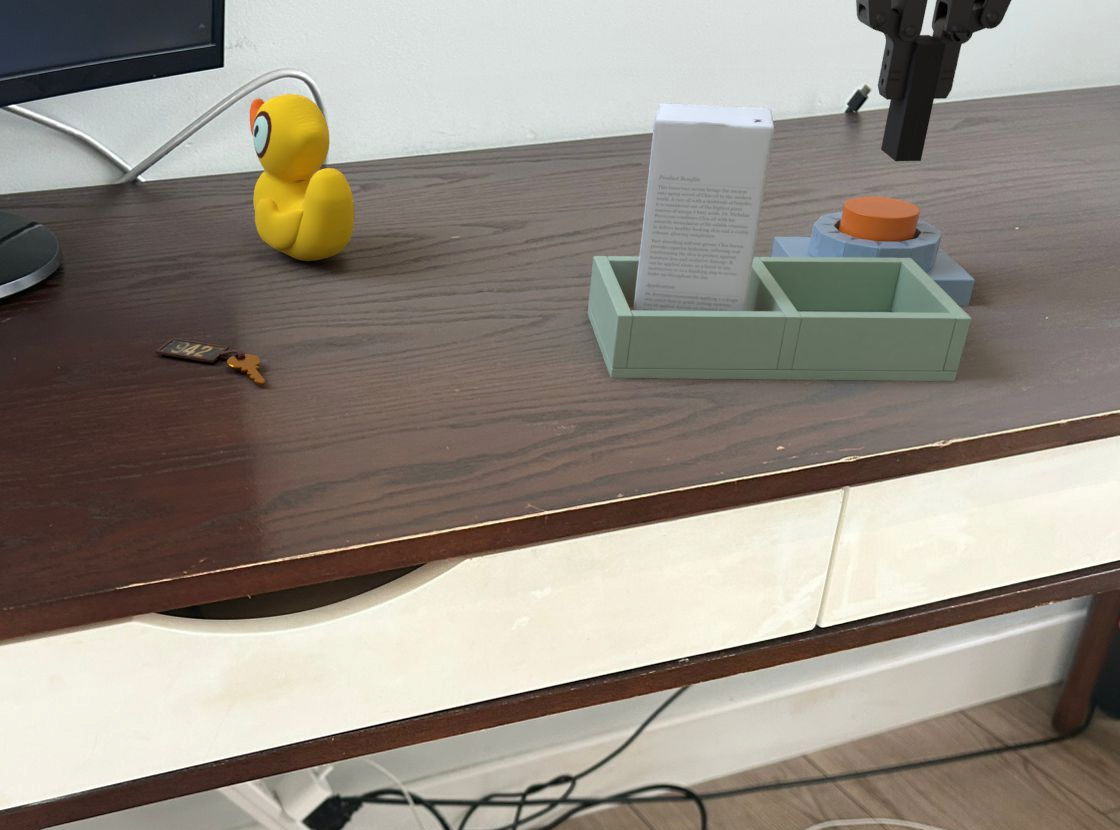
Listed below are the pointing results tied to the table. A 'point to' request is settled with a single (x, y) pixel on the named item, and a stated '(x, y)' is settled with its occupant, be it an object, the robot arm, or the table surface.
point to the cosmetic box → (702, 207)
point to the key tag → (213, 355)
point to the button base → (882, 252)
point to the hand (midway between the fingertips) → (900, 154)
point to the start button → (879, 219)
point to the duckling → (298, 181)
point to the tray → (787, 324)
